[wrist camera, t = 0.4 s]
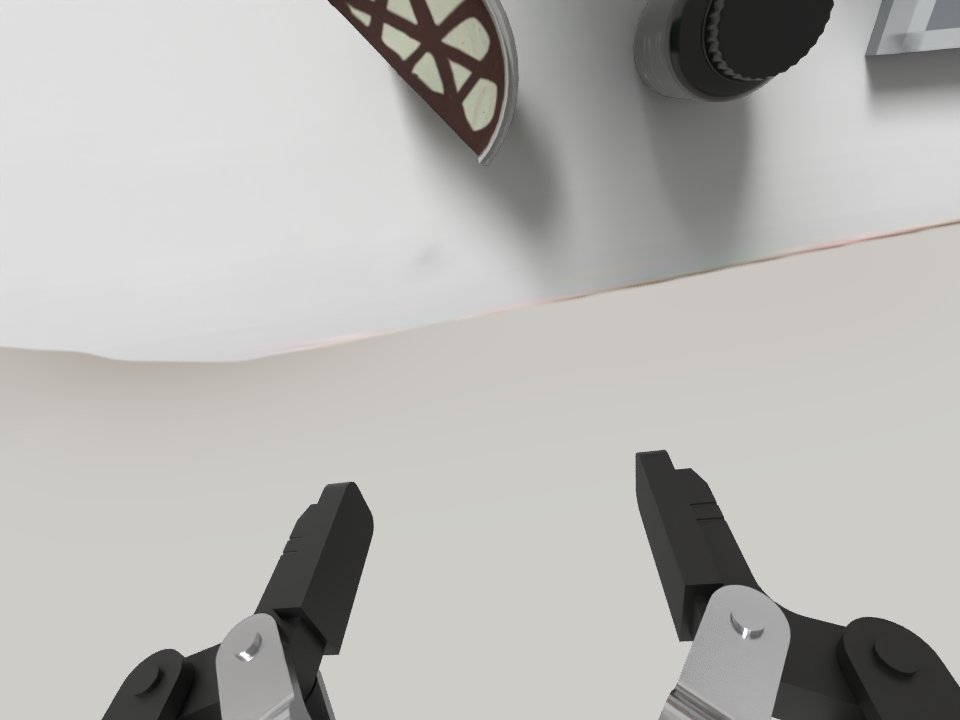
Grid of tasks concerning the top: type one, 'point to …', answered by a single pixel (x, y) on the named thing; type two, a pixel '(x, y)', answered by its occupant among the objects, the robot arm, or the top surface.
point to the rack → (915, 26)
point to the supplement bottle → (723, 44)
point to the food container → (449, 60)
